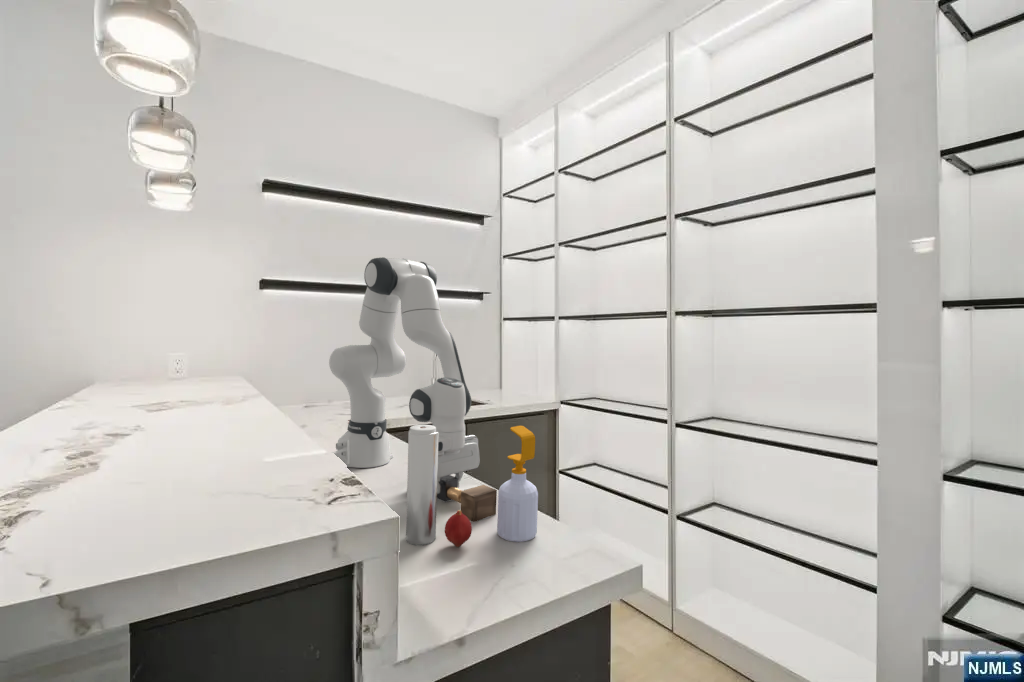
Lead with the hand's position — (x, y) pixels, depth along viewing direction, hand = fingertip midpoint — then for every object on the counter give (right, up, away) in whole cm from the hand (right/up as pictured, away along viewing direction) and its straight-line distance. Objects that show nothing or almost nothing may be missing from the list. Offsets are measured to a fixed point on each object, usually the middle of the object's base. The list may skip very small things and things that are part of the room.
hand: (446, 490), depth 128 cm
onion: (+6, -4, -26) cm, 27 cm away
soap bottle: (+19, -4, -19) cm, 27 cm away
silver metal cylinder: (-3, -4, -23) cm, 23 cm away
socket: (+9, -3, -9) cm, 13 cm away
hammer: (-1, -2, +1) cm, 3 cm away
